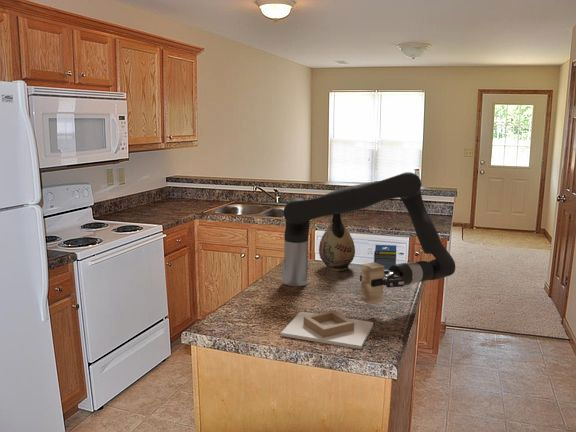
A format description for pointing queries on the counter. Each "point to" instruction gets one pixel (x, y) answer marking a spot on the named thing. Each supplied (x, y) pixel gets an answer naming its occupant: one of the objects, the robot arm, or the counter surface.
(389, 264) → the label tape cartridge
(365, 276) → the maple peg
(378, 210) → the counter surface
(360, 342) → the socket board
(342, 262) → the ceramic jug
